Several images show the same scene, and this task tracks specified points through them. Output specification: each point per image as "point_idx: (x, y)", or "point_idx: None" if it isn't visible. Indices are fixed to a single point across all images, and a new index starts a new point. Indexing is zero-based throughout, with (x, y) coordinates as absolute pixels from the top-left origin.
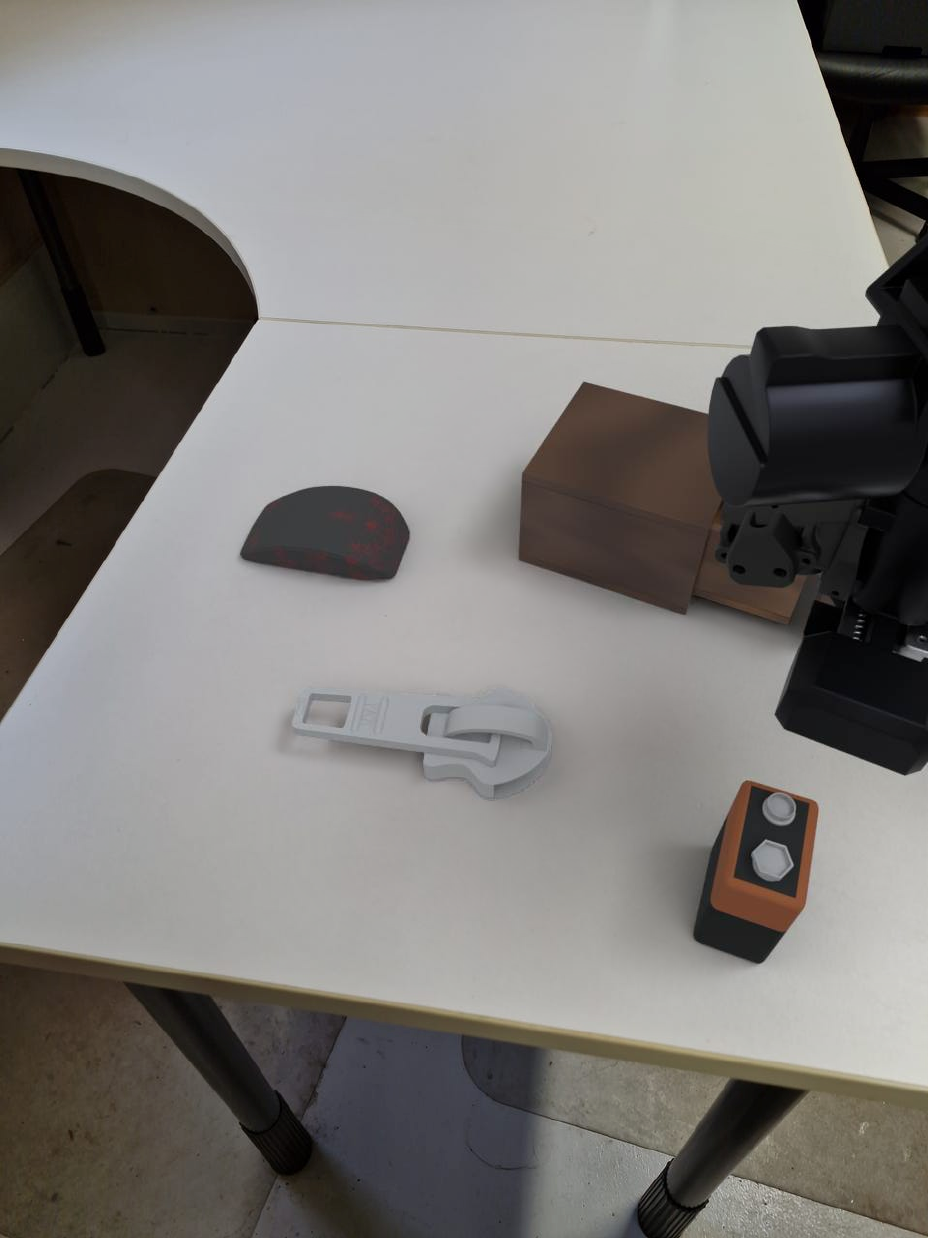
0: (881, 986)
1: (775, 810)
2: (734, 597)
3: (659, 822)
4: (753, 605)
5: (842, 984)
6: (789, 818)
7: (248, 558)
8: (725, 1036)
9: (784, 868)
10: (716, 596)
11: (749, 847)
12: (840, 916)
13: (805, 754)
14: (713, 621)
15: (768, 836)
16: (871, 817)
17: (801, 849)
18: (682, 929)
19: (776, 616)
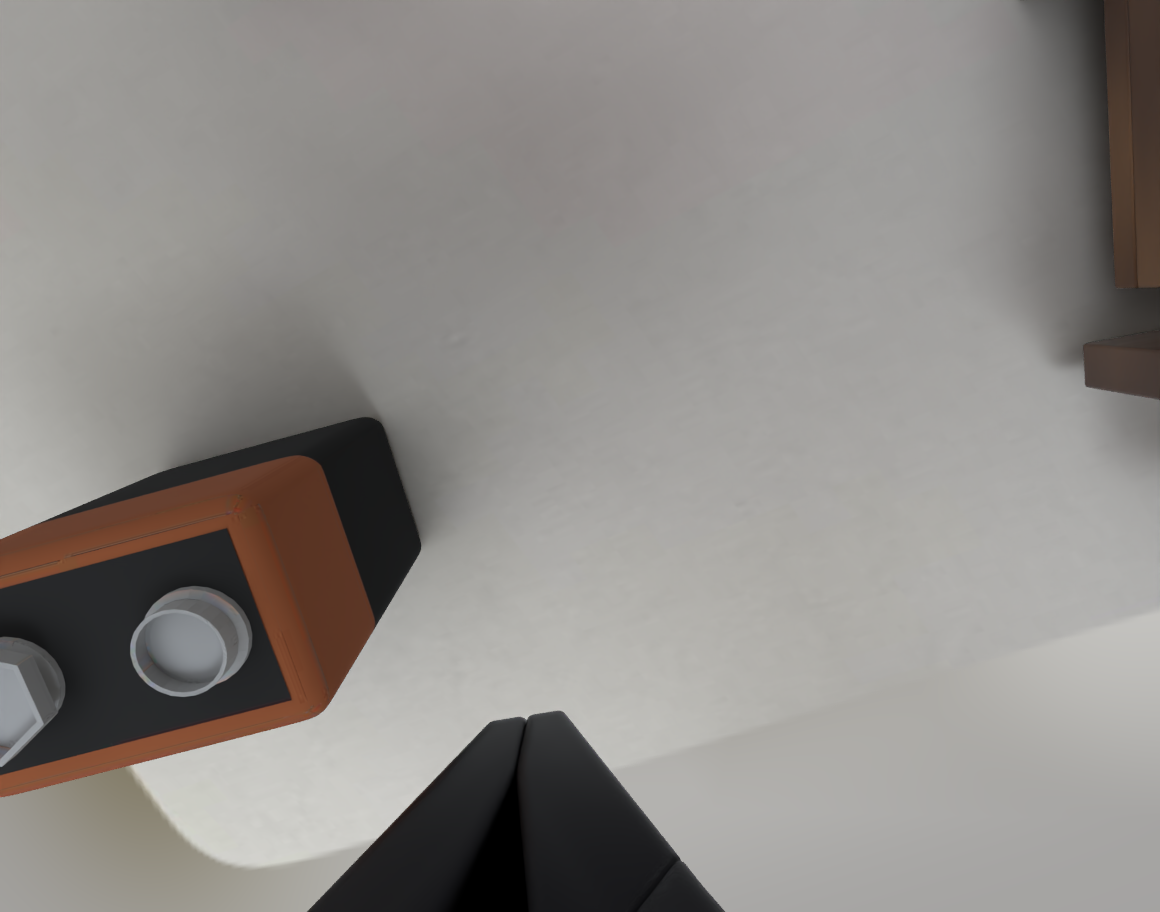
0: (330, 791)
1: (174, 634)
2: (1140, 98)
3: (355, 280)
4: (1137, 168)
5: (285, 736)
6: (167, 684)
7: None
8: None
9: (1, 736)
10: (1122, 44)
11: (22, 613)
12: (409, 688)
13: (738, 488)
14: (1037, 91)
15: (99, 644)
16: (662, 663)
17: (126, 739)
18: (168, 445)
19: (1128, 249)
